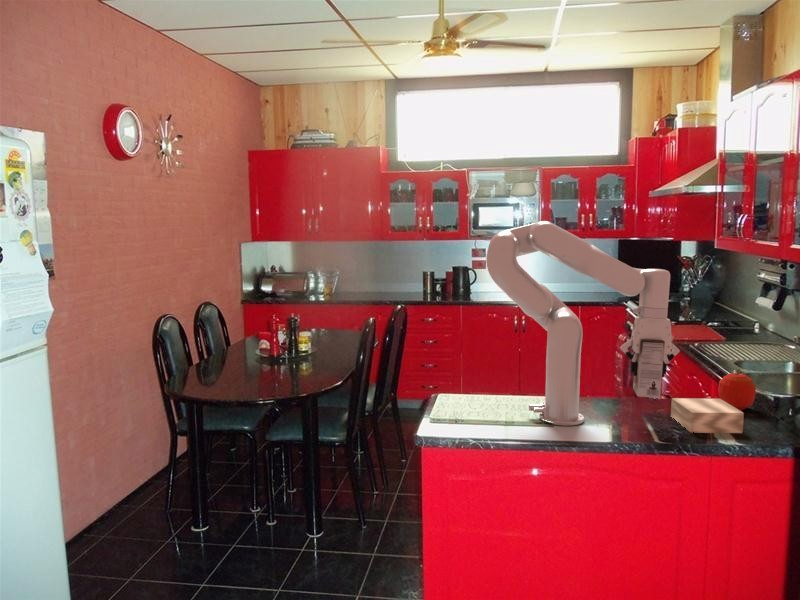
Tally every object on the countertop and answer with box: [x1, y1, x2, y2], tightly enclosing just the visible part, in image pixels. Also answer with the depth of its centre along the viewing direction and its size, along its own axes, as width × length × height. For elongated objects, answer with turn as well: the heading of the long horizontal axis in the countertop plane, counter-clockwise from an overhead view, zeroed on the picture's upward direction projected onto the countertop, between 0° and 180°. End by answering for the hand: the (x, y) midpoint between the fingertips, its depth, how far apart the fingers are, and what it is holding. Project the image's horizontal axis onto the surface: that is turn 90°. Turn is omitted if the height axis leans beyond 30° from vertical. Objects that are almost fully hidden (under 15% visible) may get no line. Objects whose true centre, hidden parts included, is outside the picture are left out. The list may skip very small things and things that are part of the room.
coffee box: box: [632, 339, 665, 399], centre depth 183 cm, size 9×6×16 cm
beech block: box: [670, 397, 745, 434], centre depth 184 cm, size 14×14×6 cm
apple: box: [717, 372, 757, 411], centre depth 200 cm, size 10×10×12 cm
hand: (647, 375), depth 183 cm, fingers closed on coffee box, 6 cm apart
